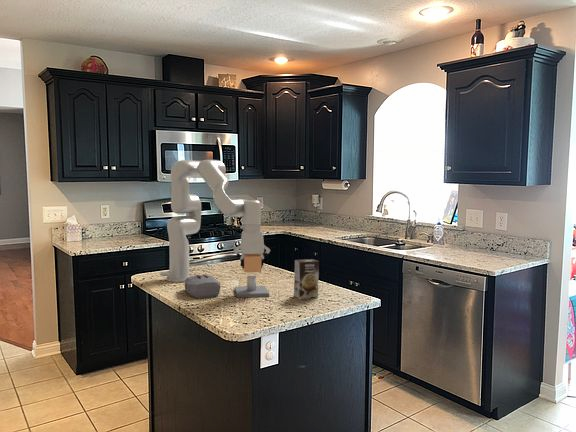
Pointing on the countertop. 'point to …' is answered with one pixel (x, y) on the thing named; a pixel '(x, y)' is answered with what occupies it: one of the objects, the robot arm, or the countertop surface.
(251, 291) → the gray plate with knob
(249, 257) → the orange cube cubby
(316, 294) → the coffee box
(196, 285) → the soft grey pack
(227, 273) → the countertop surface
